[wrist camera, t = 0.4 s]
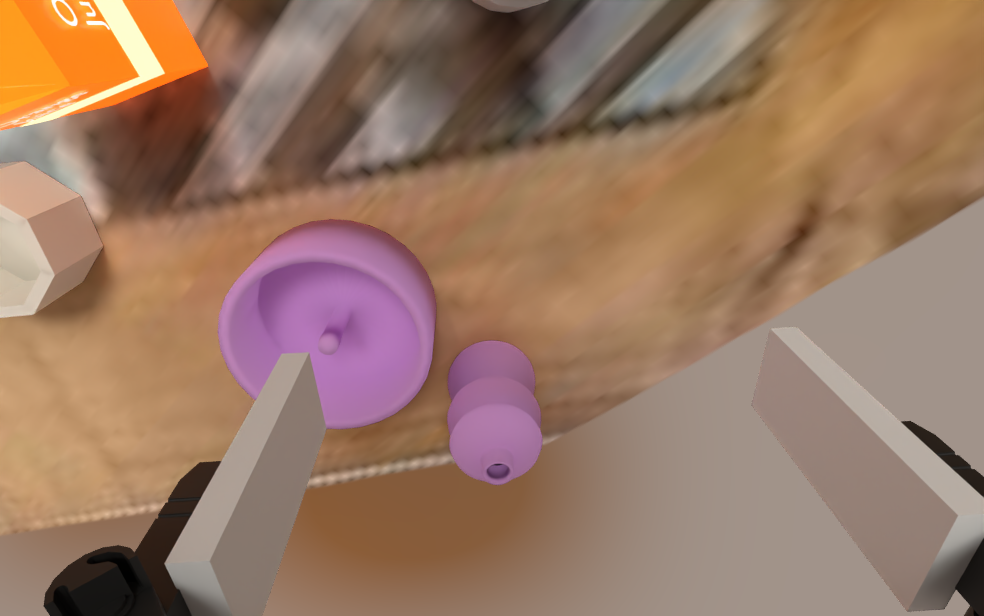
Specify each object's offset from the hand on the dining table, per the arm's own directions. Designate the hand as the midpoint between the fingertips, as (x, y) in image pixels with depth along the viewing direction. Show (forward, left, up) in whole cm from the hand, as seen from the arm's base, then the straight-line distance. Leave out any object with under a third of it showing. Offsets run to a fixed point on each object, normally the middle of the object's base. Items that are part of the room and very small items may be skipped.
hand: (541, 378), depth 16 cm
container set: (+13, -9, -28) cm, 32 cm away
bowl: (+1, -35, -27) cm, 45 cm away
